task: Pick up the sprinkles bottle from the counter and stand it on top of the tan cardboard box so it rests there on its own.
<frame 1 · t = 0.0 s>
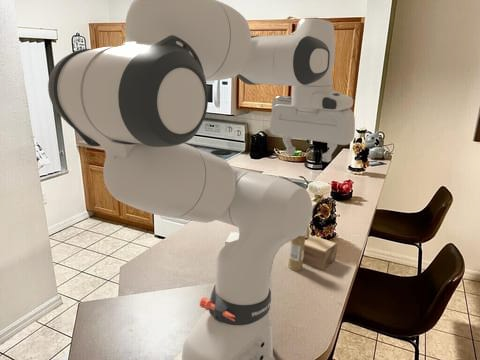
hand: (307, 157, 85), 39 cm above the kitchen counter, tool pointing down, fingers open, 8 cm apart
sprinkles bottle: (295, 267, 113), on the kitchen counter
tan cardboard box: (316, 260, 118), on the kitchen counter
small box: (235, 269, 110), on the kitchen counter
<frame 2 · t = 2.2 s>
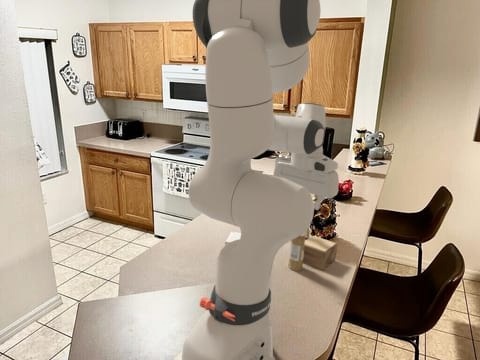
hand: (301, 205, 108), 21 cm above the kitchen counter, tool pointing down, fingers open, 8 cm apart
nothing on the kitchen counter moved.
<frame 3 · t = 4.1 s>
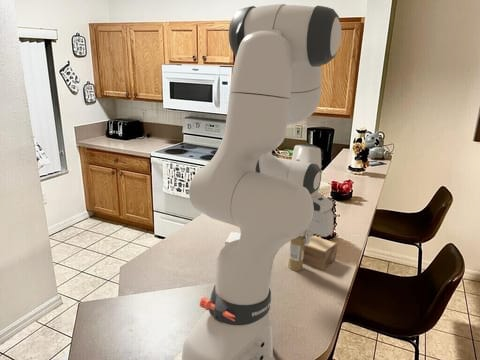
hand: (297, 240, 111), 9 cm above the kitchen counter, tool pointing down, fingers closed on sprinkles bottle, 4 cm apart
sprinkles bottle: (295, 267, 113), on the kitchen counter, touching gripper
everything else where it was.
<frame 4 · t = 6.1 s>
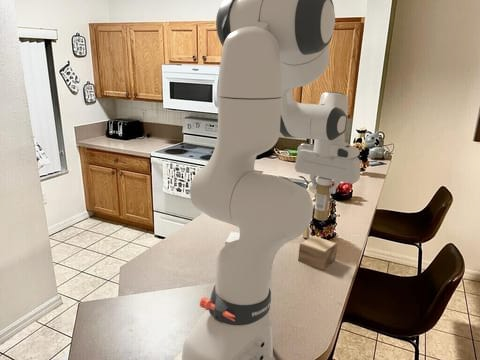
hand: (323, 191, 112), 24 cm above the kitchen counter, tool pointing down, fingers closed on sprinkles bottle, 4 cm apart
sprinkles bottle: (320, 218, 115), point 15 cm above the kitchen counter, touching gripper
everything else where it was.
when the fingers open (16 cm above the kitchen counter, at t = 8.2 s): sprinkles bottle drops 1 cm, resting on tan cardboard box.
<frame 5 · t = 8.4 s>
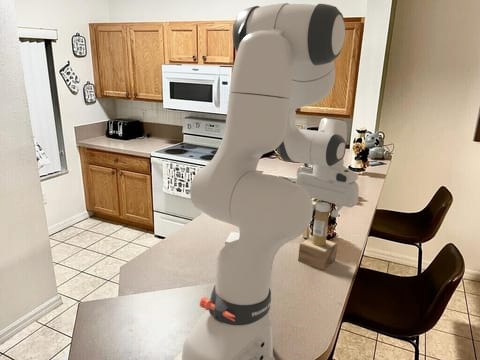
hand: (322, 213, 114), 17 cm above the kitchen counter, tool pointing down, fingers open, 7 cm apart
sprinkles bottle: (318, 243, 117), point 6 cm above the kitchen counter, touching tan cardboard box
everything else where it was.
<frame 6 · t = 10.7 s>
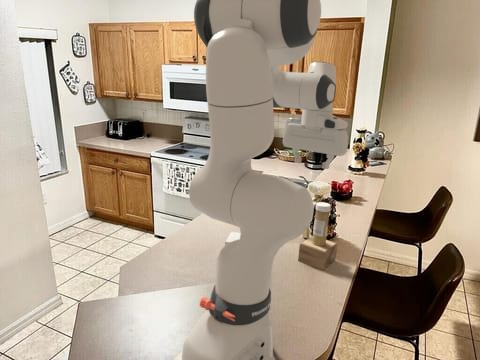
hand: (311, 165, 110), 32 cm above the kitchen counter, tool pointing down, fingers open, 8 cm apart
nothing on the kitchen counter moved.
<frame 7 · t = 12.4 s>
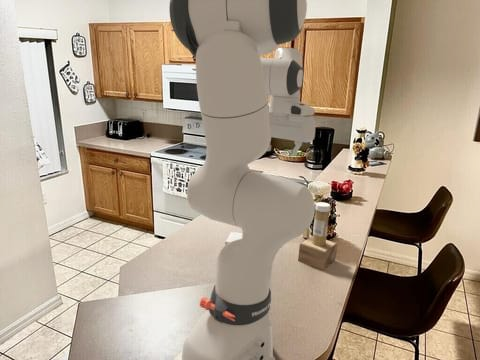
hand: (280, 153, 110), 35 cm above the kitchen counter, tool pointing down, fingers open, 8 cm apart
nothing on the kitchen counter moved.
at the end: sprinkles bottle inside the target area on the tan cardboard box (0.2 cm from its centre), point 6.1 cm above the tan cardboard box's base; sprinkles bottle tilted 0°; the gripper is holding nothing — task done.
